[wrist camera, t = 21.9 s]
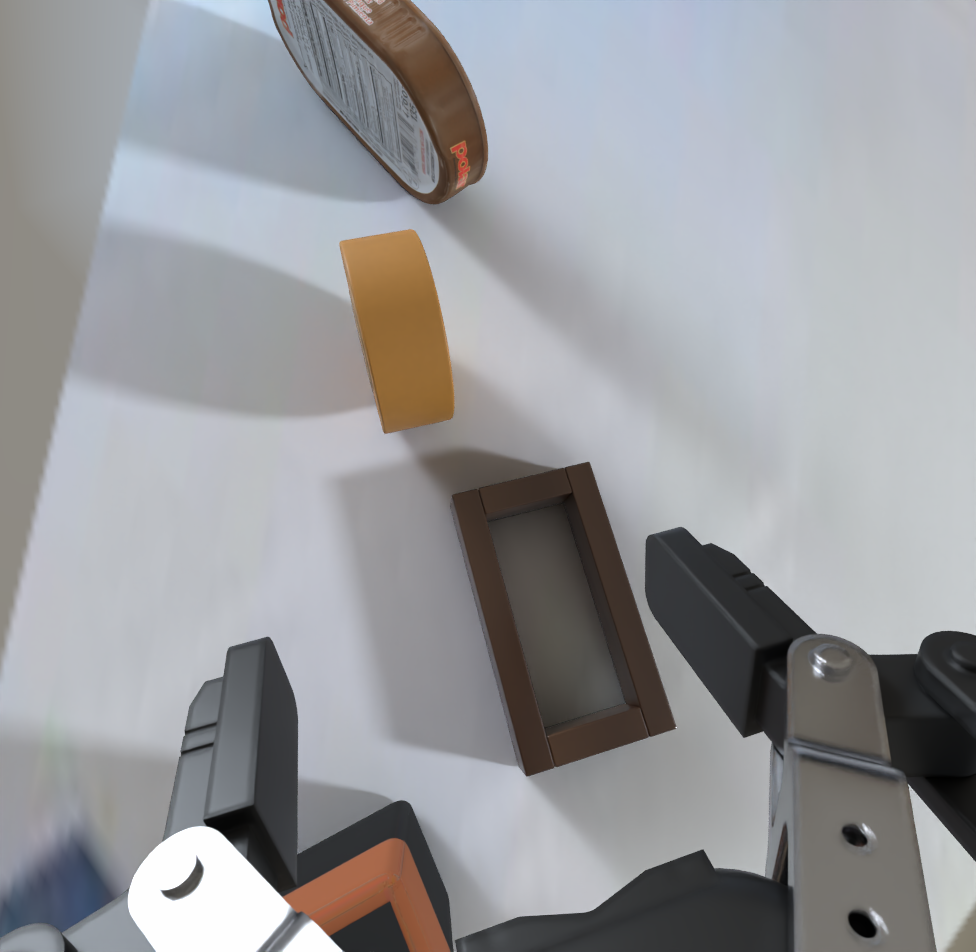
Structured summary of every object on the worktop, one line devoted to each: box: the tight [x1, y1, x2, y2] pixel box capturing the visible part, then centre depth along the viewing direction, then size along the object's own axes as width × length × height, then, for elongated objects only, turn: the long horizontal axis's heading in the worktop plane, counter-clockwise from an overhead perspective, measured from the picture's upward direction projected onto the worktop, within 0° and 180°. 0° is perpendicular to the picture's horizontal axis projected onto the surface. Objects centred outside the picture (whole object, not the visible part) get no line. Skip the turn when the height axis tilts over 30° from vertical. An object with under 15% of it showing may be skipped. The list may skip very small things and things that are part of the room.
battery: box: [278, 801, 453, 952], centre depth 19 cm, size 4×7×10 cm, turn 116°
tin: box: [268, 0, 488, 204], centre depth 30 cm, size 15×3×8 cm, turn 41°
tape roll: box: [339, 229, 454, 434], centre depth 26 cm, size 3×8×8 cm, turn 15°
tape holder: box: [450, 462, 676, 776], centre depth 27 cm, size 6×12×2 cm, turn 15°
